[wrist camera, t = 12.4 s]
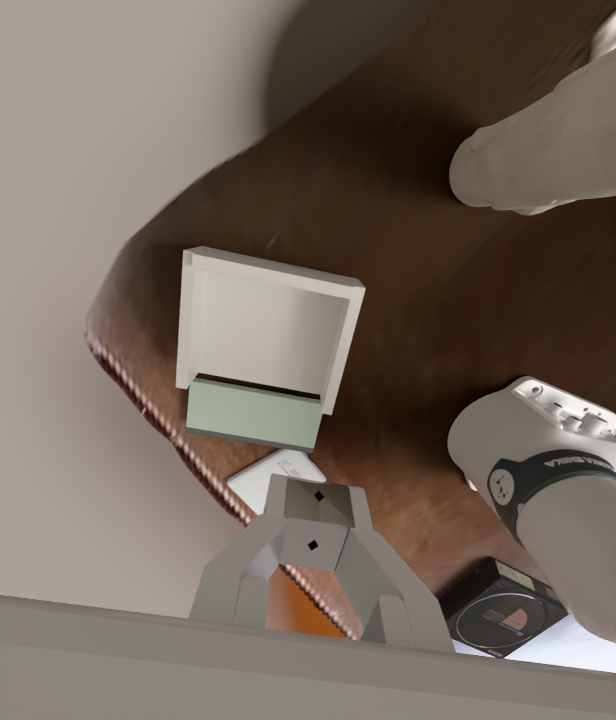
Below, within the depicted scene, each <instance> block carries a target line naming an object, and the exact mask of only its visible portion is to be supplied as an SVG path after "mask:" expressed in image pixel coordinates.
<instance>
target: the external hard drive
mask: <svg viewBox="0 0 616 720" xmlns="http://www.w3.org/2000/svg"><path fill="white" fill-rule="evenodd" d="M272 473H274V474H280V475H285V476H292V477H297V478H303V479H308V480H313V481H319V482H325V481H326V477H325V476H324V475H323V474H322V473H321V471H320V470H319V469H318V468H317V467H316V465H315V464H314V463H312V462H311V461H310V459H309V458H308V456H307V455H306V453H305V452H300V451H294V450H288V449H282V448H281V449H279V450H277V451H276V452H274V453H272V454H270V455H268V456H267V457H265V458H263V459H261V460H260V461H258V462H256V463H255V464H253V465H251V466H249V467H247V468H246V469H244V470H242V471H241V472H239V473H237V474H235V475H234V476H232V477H230V478H228V480H227V485H228V486H229V487H230V488H231V489H232V490H233V491H234V492H235V493H236V494H237V495H238V496H239V497H240V498H241V499H242V500H243V501H244V502H245V503H246V504H247V505H248V506H249V507H250V508H251V509H252V510H253V511H254V512H255V513H256V514H257V515H260V514H263V511H264V506H265V501H266V496H267V491H268V486H269V482H270V477H271V474H272Z"/></svg>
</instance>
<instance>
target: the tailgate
mask: <svg viewBox="0 0 616 720" xmlns="http://www.w3.org/2000/svg"><path fill="white" fill-rule="evenodd" d="M322 414H323V413H321V400H317V399H311V398H305V397H300V396H294V395H289V394H283V393H278V392H272V391H267V390H261V389H256V388H250V387H245V386H239V385H234V384H228V383H223V382H217V381H212V380H206V379H201V378H194V379H193V381H192V382H191V384H190V387H189V399H188V411H187V424H186V432H187V433H193V434H199V435H205V436H211V437H217V438H223V439H229V440H235V441H241V442H247V443H253V444H259V445H265V446H271V447H276V448H282V449H288V450H294V451H300V452H306V453H313V450H314V445H315V441H316V437H317V433H318V429H319V426H320V422H321V418H322Z"/></svg>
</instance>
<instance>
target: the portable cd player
mask: <svg viewBox="0 0 616 720" xmlns="http://www.w3.org/2000/svg"><path fill="white" fill-rule="evenodd" d="M438 602H439V604H440V607H441V610H442V613H443V616H444V619H445V622H446V625H447V628H448V631H449V634H450V637H451V638H452V639H454V640H456V641H459V642H461V643H463V644H466V645H468V646H471V647H473V648H475V649H478V650H480V651H482V652H485V653H487V654H489V655H492V656H494V657H496V658H501V659H503V658H505V657H506V656H507V655H509V654H510V653H512V652H513V651H515V650H516V649H518V648H519V647H521V646H522V645H524V644H525V643H527V642H528V641H530V640H531V639H533V638H534V637H536V636H537V635H539V634H540V633H542V632H543V631H545V630H546V629H548V628H549V627H551V626H552V625H554V624H555V623H557V622H558V621H560V620H561V619H563V618H564V617H566V616H567V615H569V613H568V612H567V611H566V609H565V607H564V606H563V604H562V603H561V601H560V600H559V598H558V597H557V595H556V594H555V592H554V591H553V589H552V588H551V587H549V586H547V585H545V584H543V583H541V582H539V581H537V580H536V579H534V578H532V577H530V576H528V575H526V574H524V573H522V572H520V571H518V570H516V569H514V568H512V567H510V566H508V565H506V564H504V563H502V562H500V561H498V560H496V559H494V558H492V557H490V558H489V559H488V560H486V561H485V562H484V563H483V564H481V565H480V566H479V567H478V568H477V569H475V570H474V571H473V572H472V573H470V574H469V575H468V576H467V577H466V578H464V579H463V580H462V581H461V582H459V583H458V584H457V585H456V586H455V587H453V588H452V589H451V590H450V591H449V592H447V593H446V594H445V595H444V596H442V597H441V598H440V599H439V600H438Z"/></svg>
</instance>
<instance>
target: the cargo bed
mask: <svg viewBox="0 0 616 720" xmlns="http://www.w3.org/2000/svg"><path fill="white" fill-rule="evenodd" d="M365 289H366V288H365V287H364V286H363V285H362V283H361V282H360V281H359V280H358V279H356V278H352V277H347V276H342V275H337V274H333V273H328V272H323V271H318V270H314V269H309V268H304V267H300V266H295V265H290V264H285V263H281V262H276V261H271V260H266V259H262V258H257V257H252V256H247V255H243V254H238V253H233V252H228V251H224V250H219V249H214V248H209V247H205V246H200V247H195V248H191V249H186V250H183V266H182V284H181V301H180V319H179V336H178V354H177V372H176V387H177V388H182V389H187V388H188V386H189V385H190V384H191V382H192V381H193V379H194V378H195V377H196V375H197V374H198V373H204V374H210V375H215V376H221V377H226V378H231V379H237V380H242V381H248V382H253V383H259V384H264V385H270V386H275V387H281V388H286V389H292V390H297V391H303V392H308V393H314V394H319V395H320V400H321V413H323V414H328V415H332V411H333V407H334V404H335V400H336V396H337V393H338V389H339V385H340V382H341V378H342V374H343V370H344V367H345V363H346V359H347V356H348V352H349V348H350V344H351V341H352V337H353V333H354V330H355V326H356V322H357V319H358V315H359V311H360V307H361V304H362V300H363V296H364V293H365Z"/></svg>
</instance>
